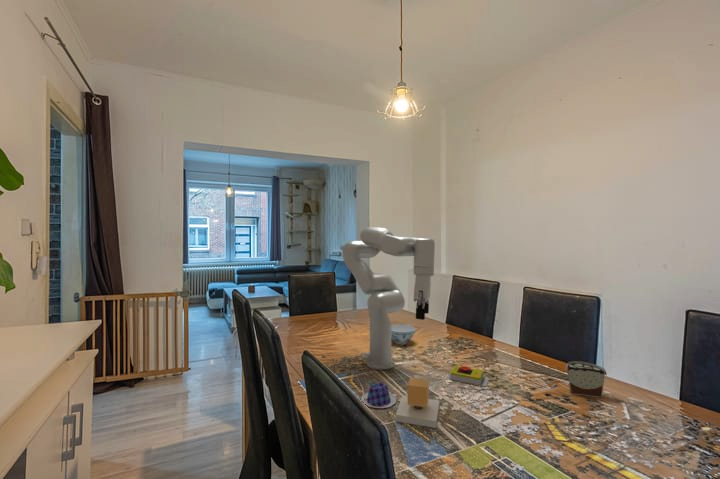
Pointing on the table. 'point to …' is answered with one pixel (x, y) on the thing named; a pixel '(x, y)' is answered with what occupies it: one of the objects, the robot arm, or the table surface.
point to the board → (418, 413)
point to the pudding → (379, 396)
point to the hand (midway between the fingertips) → (422, 315)
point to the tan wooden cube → (418, 392)
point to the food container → (585, 378)
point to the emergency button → (468, 375)
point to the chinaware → (402, 333)
